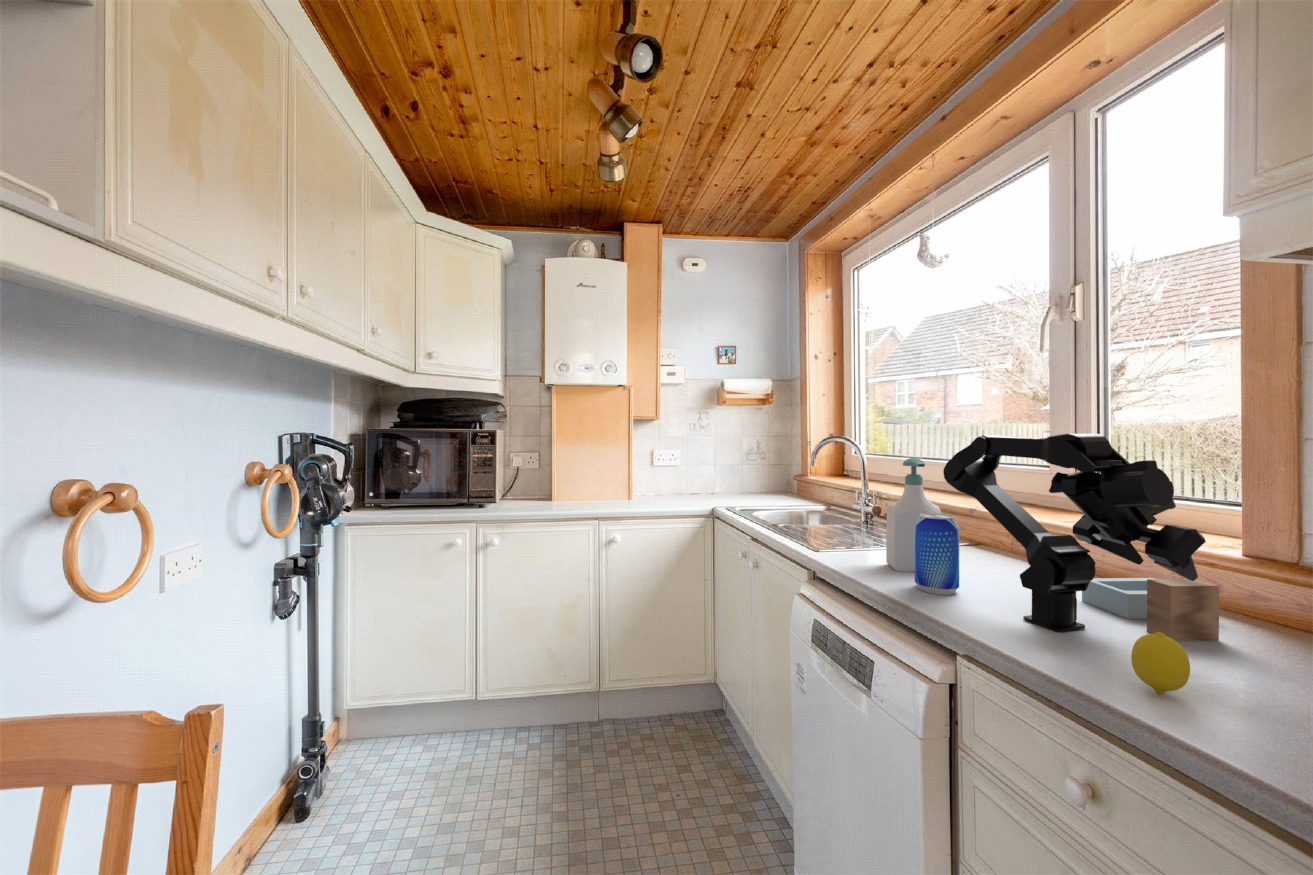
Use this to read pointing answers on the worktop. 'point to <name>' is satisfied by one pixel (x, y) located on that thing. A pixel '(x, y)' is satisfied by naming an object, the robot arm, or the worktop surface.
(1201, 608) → the brown rectangular block
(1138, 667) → the lemon
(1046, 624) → the robot arm
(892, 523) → the soap bottle
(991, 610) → the worktop surface
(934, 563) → the beer can
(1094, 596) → the light blue tray
